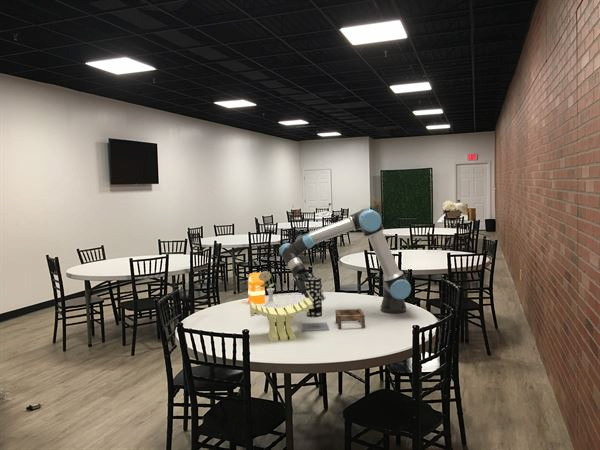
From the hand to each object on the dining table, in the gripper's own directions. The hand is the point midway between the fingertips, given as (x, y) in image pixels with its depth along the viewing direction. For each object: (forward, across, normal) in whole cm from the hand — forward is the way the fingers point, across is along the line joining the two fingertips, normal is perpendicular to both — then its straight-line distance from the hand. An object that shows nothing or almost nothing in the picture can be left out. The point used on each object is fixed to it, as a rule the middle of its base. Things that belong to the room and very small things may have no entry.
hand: (318, 300), depth 273 cm
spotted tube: (+4, 0, -9) cm, 9 cm away
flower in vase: (-24, -6, -46) cm, 52 cm away
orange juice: (-41, -15, -63) cm, 76 cm away
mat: (+8, 0, -13) cm, 15 cm away
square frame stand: (+16, -15, -5) cm, 23 cm away
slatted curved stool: (+8, +23, -14) cm, 28 cm away
